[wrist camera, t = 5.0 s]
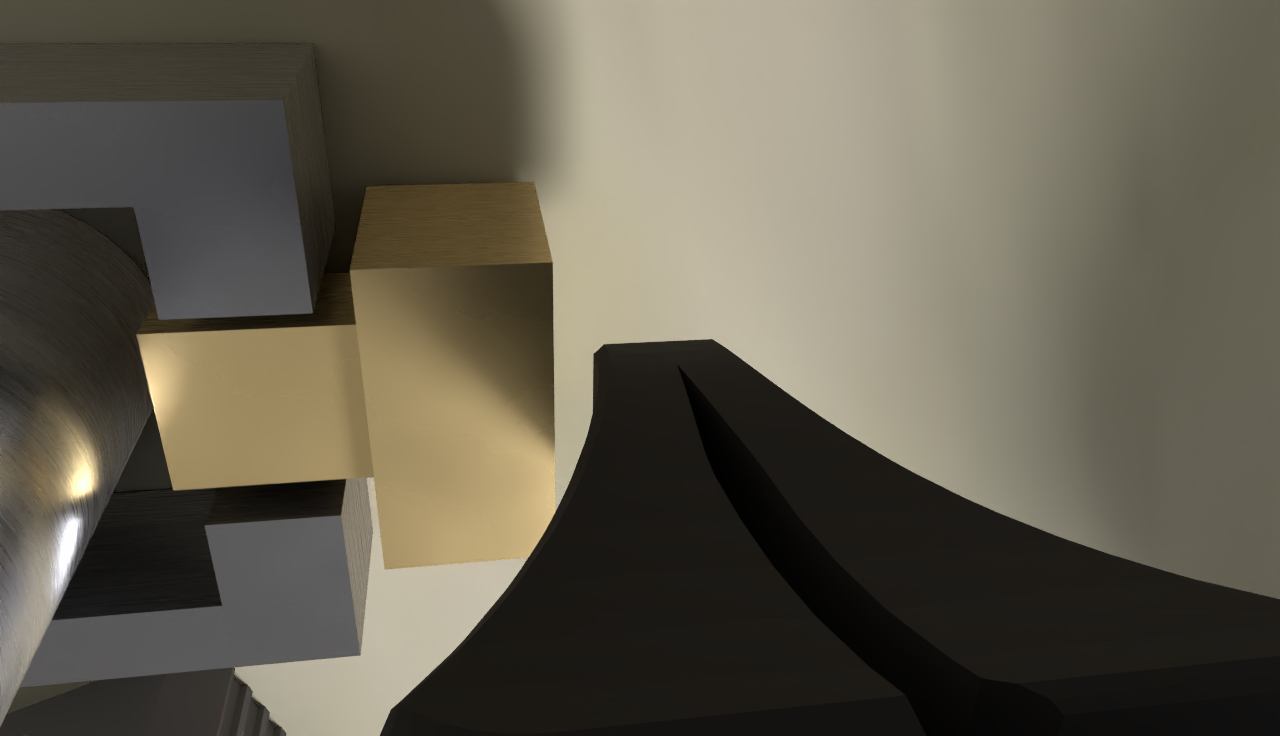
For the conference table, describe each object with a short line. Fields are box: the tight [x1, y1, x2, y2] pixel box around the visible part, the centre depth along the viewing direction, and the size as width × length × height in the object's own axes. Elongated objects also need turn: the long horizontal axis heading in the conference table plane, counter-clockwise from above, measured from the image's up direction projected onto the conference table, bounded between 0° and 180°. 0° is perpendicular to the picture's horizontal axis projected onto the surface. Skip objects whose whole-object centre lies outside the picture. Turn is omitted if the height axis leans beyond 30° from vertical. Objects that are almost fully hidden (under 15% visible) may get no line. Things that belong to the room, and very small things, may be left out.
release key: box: [136, 182, 555, 569], centre depth 12 cm, size 4×4×2 cm
